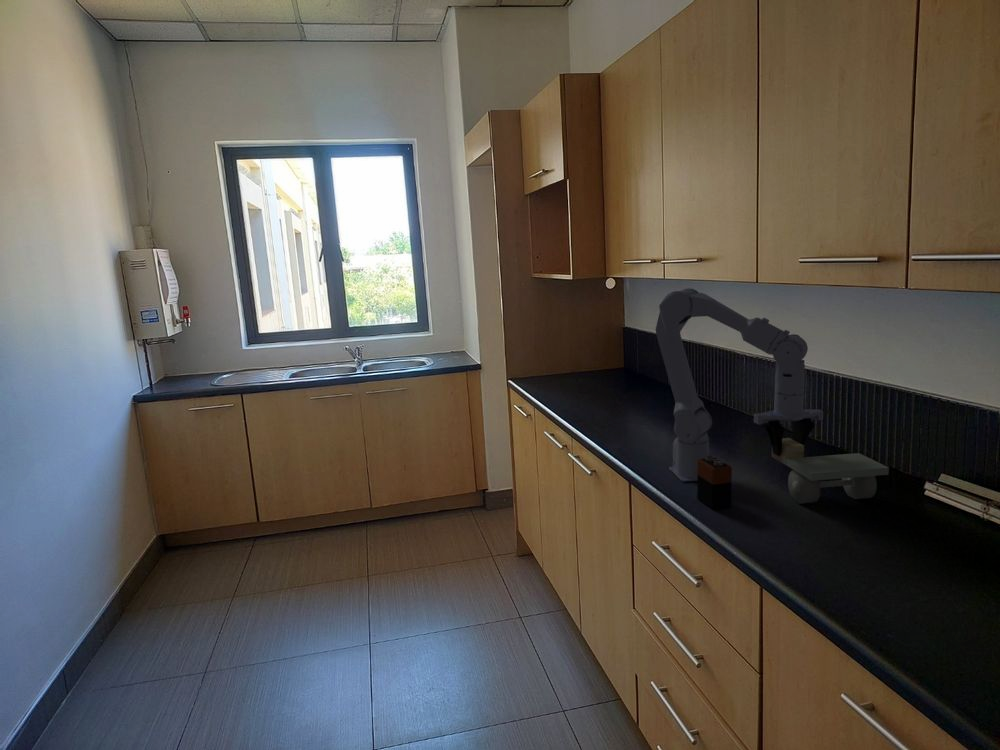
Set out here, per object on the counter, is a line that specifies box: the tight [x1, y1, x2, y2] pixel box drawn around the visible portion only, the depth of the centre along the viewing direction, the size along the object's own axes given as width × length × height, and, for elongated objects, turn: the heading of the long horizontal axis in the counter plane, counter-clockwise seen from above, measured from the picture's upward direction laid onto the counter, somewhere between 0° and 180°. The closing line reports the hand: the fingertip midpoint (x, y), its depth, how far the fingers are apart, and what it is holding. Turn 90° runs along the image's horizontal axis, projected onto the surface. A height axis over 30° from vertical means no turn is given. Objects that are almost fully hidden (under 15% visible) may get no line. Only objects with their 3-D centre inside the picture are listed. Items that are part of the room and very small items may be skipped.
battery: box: [696, 454, 733, 510], centre depth 135 cm, size 4×7×10 cm, turn 12°
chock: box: [771, 437, 805, 466], centre depth 139 cm, size 6×4×4 cm, turn 4°
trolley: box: [785, 452, 890, 505], centre depth 132 cm, size 10×16×8 cm, turn 95°
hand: (787, 453), depth 139 cm, fingers closed on chock, 4 cm apart
